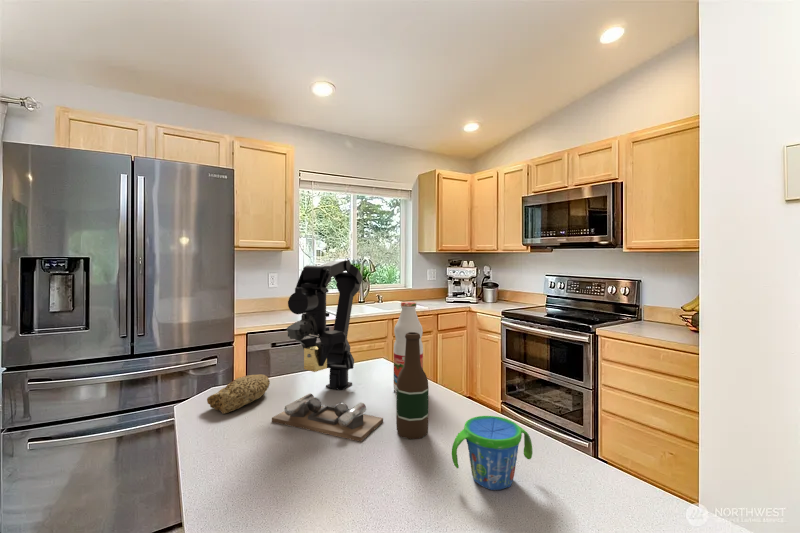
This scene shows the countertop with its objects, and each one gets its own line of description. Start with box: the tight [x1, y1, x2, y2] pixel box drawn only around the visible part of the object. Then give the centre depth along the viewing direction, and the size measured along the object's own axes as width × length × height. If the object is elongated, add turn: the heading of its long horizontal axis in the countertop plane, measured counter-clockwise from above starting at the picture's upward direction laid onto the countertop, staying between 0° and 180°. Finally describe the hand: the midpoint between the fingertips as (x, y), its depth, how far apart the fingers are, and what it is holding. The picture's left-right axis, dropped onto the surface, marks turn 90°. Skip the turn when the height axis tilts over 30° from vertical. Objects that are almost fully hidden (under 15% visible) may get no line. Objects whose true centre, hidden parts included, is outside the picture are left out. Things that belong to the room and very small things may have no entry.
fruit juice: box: [393, 301, 424, 393], centre depth 120 cm, size 9×9×28 cm
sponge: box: [206, 374, 271, 415], centre depth 110 cm, size 13×8×20 cm
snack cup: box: [451, 415, 533, 491], centre depth 71 cm, size 16×10×10 cm
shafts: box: [283, 393, 367, 427], centre depth 95 cm, size 9×18×4 cm, turn 67°
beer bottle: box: [395, 332, 430, 440], centre depth 90 cm, size 8×8×24 cm
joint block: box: [303, 346, 328, 373], centre depth 107 cm, size 5×4×6 cm
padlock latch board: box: [271, 403, 384, 442], centre depth 96 cm, size 12×26×4 cm, turn 67°
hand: (315, 364), depth 107 cm, fingers closed on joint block, 4 cm apart
